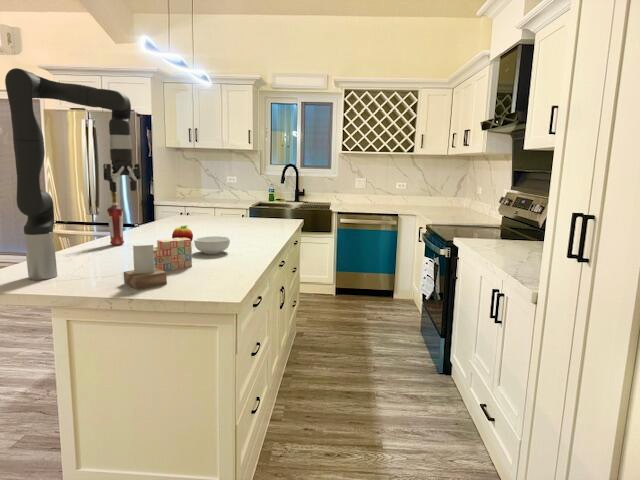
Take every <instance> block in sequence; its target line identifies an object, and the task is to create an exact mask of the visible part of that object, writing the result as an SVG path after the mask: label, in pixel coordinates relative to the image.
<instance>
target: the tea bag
mask: <svg viewBox="0 0 640 480" xmlns="http://www.w3.org/2000/svg"><path fill="white" fill-rule="evenodd" d="M132 248H133V249H132V250H133V251H132V252H133V255H132V257H133V270H134V274H141V273H154V272H155V267H154V249H153V248H154V245H153V244H142V245H133V246H132Z"/></svg>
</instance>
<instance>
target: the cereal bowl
mask: <svg viewBox="0 0 640 480" xmlns="http://www.w3.org/2000/svg"><path fill="white" fill-rule="evenodd" d="M193 240H194V242H193V243H194V246H195V248H196V249H197V250H198V251H200V252H202V253H203V254H205V255H217V254H221V252H224V251H225V250H227V249H228V248H229V246H230V242H231V241H230V240H231V239H230V238H229V237H227V236H216V235H215V236H202V237H198V238H194V239H193Z"/></svg>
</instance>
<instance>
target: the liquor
mask: <svg viewBox="0 0 640 480" xmlns="http://www.w3.org/2000/svg"><path fill="white" fill-rule="evenodd" d="M117 194H118V193H117V191H116V192H111V191H110V196H111V197H110V198H111V206H110V207H108V208H107V209H106V213H107V219H108V228H109V235H110V242H109V243H110V244H111V245H112V246H115V245H117V246H122V245H123V244H124V243H125V241H124V227H123V226H124V215H123V208H122V207H120V206H118V205H119V204H118V198H117V196H118V195H117Z"/></svg>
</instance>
